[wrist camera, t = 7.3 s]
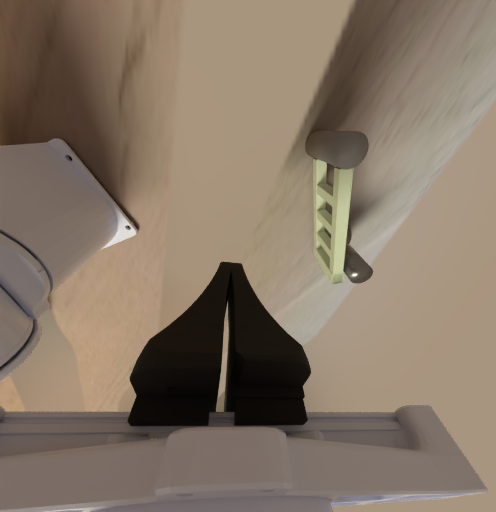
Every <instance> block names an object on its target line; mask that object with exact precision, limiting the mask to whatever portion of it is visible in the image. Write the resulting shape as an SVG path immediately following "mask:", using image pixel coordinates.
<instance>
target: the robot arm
mask: <svg viewBox="0 0 496 512" xmlns="http://www.w3.org/2000/svg"><path fill="white" fill-rule="evenodd" d="M69 156H71V158H72V160H70V158H69ZM127 225H128V226H130V228H128V226H127ZM137 233H138V230H137V228H136V227H135V226H134V225H133V223H132V222H131V221H130V220H129V219H128V217H127V216H126V215H125V214H124V213H123V211H122V210H121V209H120V208H119V206H118V205H117V204H116V203H115V202H114V200H113V199H112V198H111V197H110V196H109V194H108V193H107V192H106V191H105V190H104V188H103V187H102V186H101V185H100V183H99V182H98V181H97V180H96V179H95V177H94V176H93V175H92V174H91V173H90V171H89V170H88V169H87V168H86V167H85V165H84V164H83V163H82V162H81V160H80V159H79V158H78V157H77V156H76V154H75V153H74V152H73V151H72V150H71V148H70V147H69V146H68V145H67V144H66V142H65V141H63V140H62V139H59V138H55V139H52V140H50V141H48V142H45V143H32V144H19V145H6V146H0V382H1V381H2V380H4V379H5V378H6V377H7V376H9V375H10V374H11V373H12V372H13V371H14V370H15V369H17V368H18V367H19V366H20V365H21V364H22V363H23V362H24V361H25V360H26V359H27V358H28V356H29V355H30V354H31V353H32V351H33V350H34V349H35V347H36V346H37V344H38V342H39V340H40V337H41V334H42V327H41V324H40V322H39V321H38V320H37V319H38V318H39V317H40V316H41V315H42V314H43V313H44V312H45V311H46V310H47V309H48V308H49V307H50V304H49V303H48V300H47V297H48V296H49V295H50V294H51V293H52V292H53V291H54V290H56V289H57V288H58V287H59V286H60V285H61V284H62V283H64V282H65V281H66V280H67V279H68V278H69V277H70V276H71V275H73V274H74V273H75V272H76V271H77V270H78V269H79V268H81V267H82V266H83V265H84V264H85V263H86V262H87V261H88V260H90V259H91V258H92V257H93V256H94V255H95V254H96V253H98V252H99V251H100V250H101V249H104V248H106V247H109V246H111V245H113V244H116V243H118V242H120V241H123V240H125V239H127V238H130V237H132V236H134V235H136V234H137ZM227 301H228V323H229V340H228V357H227V372H226V387H225V402H224V412H216V403H217V397H218V389H219V381H220V373H221V363H222V349H223V332H224V318H225V313H226V307H227ZM310 374H311V369H310V365H309V362H308V359H307V357H306V354H305V352H304V350H303V347H302V345H300V344H299V343H298V342H297V341H296V340H295V339H294V338H292V337H291V336H290V335H289V334H288V333H287V332H286V331H285V330H284V329H283V328H282V327H281V326H280V325H279V324H278V323H277V322H276V321H275V320H274V319H273V317H272V316H271V315H270V314H269V313H268V311H267V310H266V309H265V308H264V306H263V305H262V303H261V302H260V300H259V299H258V297H257V296H256V294H255V292H254V291H253V289H252V287H251V285H250V283H249V281H248V279H247V277H246V274H245V272H244V269H243V266H242V264H241V263H230V262H221V263H220V265H219V268H218V270H217V272H216V274H215V275H214V277H213V279H212V280H211V282H210V283H209V285H208V286H207V287H206V289H205V290H204V291H203V293H202V294H201V295H200V296H199V298H198V299H197V300H196V301H195V302H194V303H193V304H192V305H191V306H190V307H189V308H188V309H187V310H186V311H185V312H184V313H183V314H182V315H181V316H179V317H178V318H177V319H176V320H175V321H174V322H172V323H171V324H170V325H169V326H167V327H166V328H165V329H163V330H162V331H161V332H159V333H158V334H156V335H155V336H154V337H152V338H151V339H150V340H149V341H148V343H147V344H146V346H145V347H144V349H143V350H142V352H141V354H140V356H139V357H138V359H137V362H136V364H135V366H134V369H133V371H132V373H131V376H130V382H131V384H132V386H133V388H134V391H135V393H136V395H137V396H136V399H135V402H134V404H133V407H132V409H131V412H5V409H3V408H2V407H1V406H0V512H333V511H332V507H335V506H348V505H361V504H373V503H388V502H401V501H416V500H432V499H443V498H450V497H457V496H465V495H471V494H478V493H486V492H487V490H488V489H487V488H486V486H485V485H484V483H483V482H482V480H481V479H480V477H479V476H478V474H477V473H476V472H475V470H474V469H473V467H472V466H471V464H470V463H469V461H468V460H467V458H466V457H465V456H464V454H463V453H462V451H461V450H460V449H459V447H458V445H457V444H456V442H455V441H454V440H453V438H452V437H451V435H450V434H449V433H448V431H447V429H446V428H445V427H444V425H443V424H442V422H441V421H440V419H439V418H438V416H437V415H436V413H435V412H434V410H433V409H432V407H430V406H428V405H408V406H403V407H400V408H398V409H397V410H396V411H395V412H306V410H305V406H304V401H303V398H304V397H305V396H304V391H303V385H304V383H305V382H306V381H307V379H308V378H309V376H310Z"/></svg>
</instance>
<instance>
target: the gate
mask: <svg viewBox="0 0 496 512" xmlns="http://www.w3.org/2000/svg"><path fill="white" fill-rule="evenodd" d="M305 148H306V152H307V154H308V155H309V156H311V157H314V158H313V193H314V255H315V257H316V258H317V260H318V262H319V263H320V265H321V267H322V268H323V270H324V272H325V273H326V275H327V277H328V278H329V280H330V282H331V284H336V283H342V282H343V268H344V258H345V248H346V238H347V228H348V218H349V208H350V198H351V188H352V178H353V168H354V167H356V166H357V165H359V164H360V163H361V162H362V160H363V159H364V158H365V156H366V154H367V151H368V139H367V137H366V136H365V135H364V134H363V133H361V132H353V131H323V130H318V131H315V132H313V133H312V134H311V135H310V136H309V137H308V139H307V141H306V145H305ZM327 163H328V164H331V165H333V166H336V167H334V186H333V187H331V186H330V185H328V184H327V183H326V172H327ZM326 202H327V203H329V204H330V205H331V206H332V215H331V214H330V213H329V212H328V211H327V210H326ZM325 228H326V229H327V230H328V231H329V233H330V234H331V238H330V237H329V236H328V235H327V233H326V232H325Z"/></svg>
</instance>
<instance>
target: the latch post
mask: <svg viewBox="0 0 496 512" xmlns="http://www.w3.org/2000/svg"><path fill="white" fill-rule="evenodd" d="M325 232H326V233H327V235H328V236H329V237H330V238H331V234H330V233H329V231H328V230H327V229H326V228H325ZM350 240H351V233H350V231H349V229H348V228H347V238H346V248H345V258H344V268H343V271H344V272H345V274H346V275H347V276H348V278H349V279H350V281H351V282H353V283H362V282H365V281H366V280H368V279H369V278H370V277H371V276H372V274H373V270H372V268H371V267H370V266H369V265H368V264H367V263H366V262H365V261H364V260H363V259H362V258H361V257H360V255H359V254H358V253H357V252H356V251H355V250H354V249H353V248H352V247H351V246H350V245H349V243H350Z"/></svg>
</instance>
